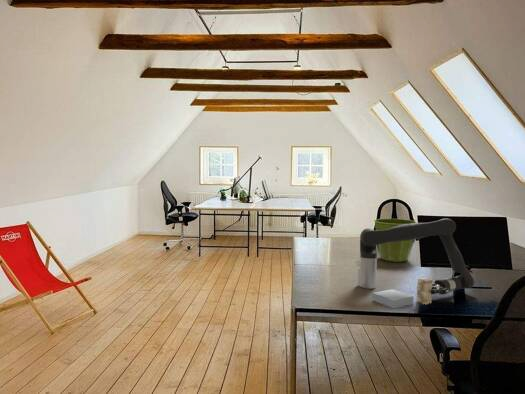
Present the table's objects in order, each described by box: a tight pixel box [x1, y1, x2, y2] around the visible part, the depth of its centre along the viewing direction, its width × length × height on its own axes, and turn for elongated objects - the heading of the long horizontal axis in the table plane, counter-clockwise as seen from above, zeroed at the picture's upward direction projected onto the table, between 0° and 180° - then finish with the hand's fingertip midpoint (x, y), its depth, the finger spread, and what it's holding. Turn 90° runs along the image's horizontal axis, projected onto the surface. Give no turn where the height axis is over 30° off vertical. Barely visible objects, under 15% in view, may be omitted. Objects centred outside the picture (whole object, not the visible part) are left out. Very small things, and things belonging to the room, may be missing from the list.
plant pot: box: [374, 218, 418, 263], centre depth 322 cm, size 30×30×29 cm
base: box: [372, 288, 414, 309], centre depth 223 cm, size 14×14×4 cm
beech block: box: [416, 277, 433, 305], centre depth 223 cm, size 5×5×12 cm
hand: (424, 290), depth 223 cm, fingers open, 8 cm apart
